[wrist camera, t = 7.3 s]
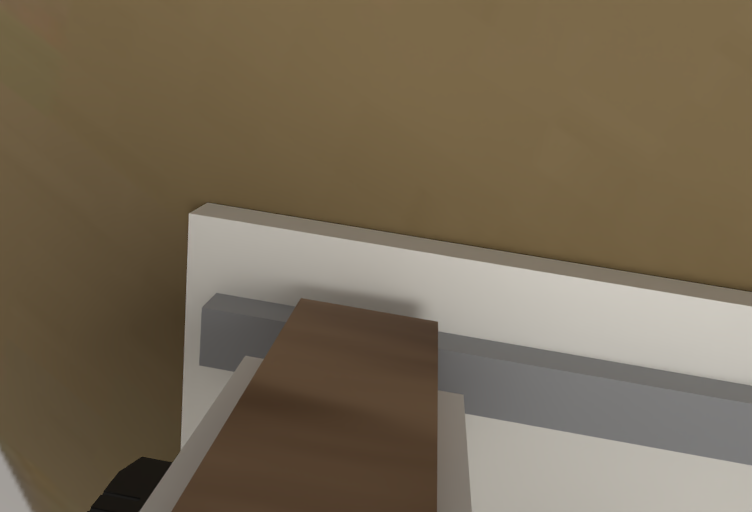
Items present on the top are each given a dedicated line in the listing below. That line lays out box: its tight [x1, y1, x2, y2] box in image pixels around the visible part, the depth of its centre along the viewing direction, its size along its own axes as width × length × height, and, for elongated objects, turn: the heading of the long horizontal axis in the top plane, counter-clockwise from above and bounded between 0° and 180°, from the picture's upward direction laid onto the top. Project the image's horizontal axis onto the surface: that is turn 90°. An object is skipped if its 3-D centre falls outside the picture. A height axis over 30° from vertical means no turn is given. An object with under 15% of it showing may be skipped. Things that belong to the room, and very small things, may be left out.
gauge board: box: [181, 203, 752, 512], centre depth 18 cm, size 12×26×5 cm, turn 82°
